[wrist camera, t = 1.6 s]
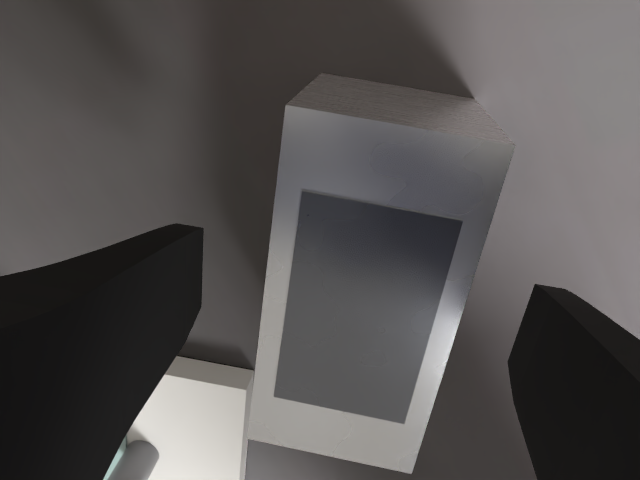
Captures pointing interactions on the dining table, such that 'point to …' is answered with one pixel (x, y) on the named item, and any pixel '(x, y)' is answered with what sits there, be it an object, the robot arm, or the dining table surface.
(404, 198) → the block
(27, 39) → the dining table surface
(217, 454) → the dock
